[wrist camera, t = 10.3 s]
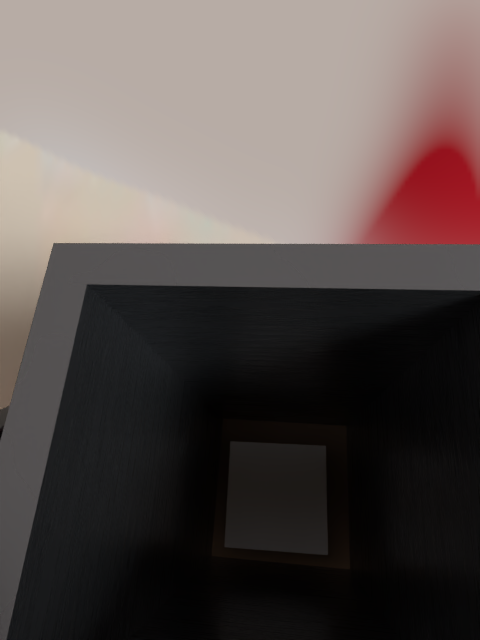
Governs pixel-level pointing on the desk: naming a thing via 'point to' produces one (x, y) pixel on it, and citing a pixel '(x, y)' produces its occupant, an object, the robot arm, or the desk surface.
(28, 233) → the desk surface
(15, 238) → the desk surface
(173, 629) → the socket sleeve
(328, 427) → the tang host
